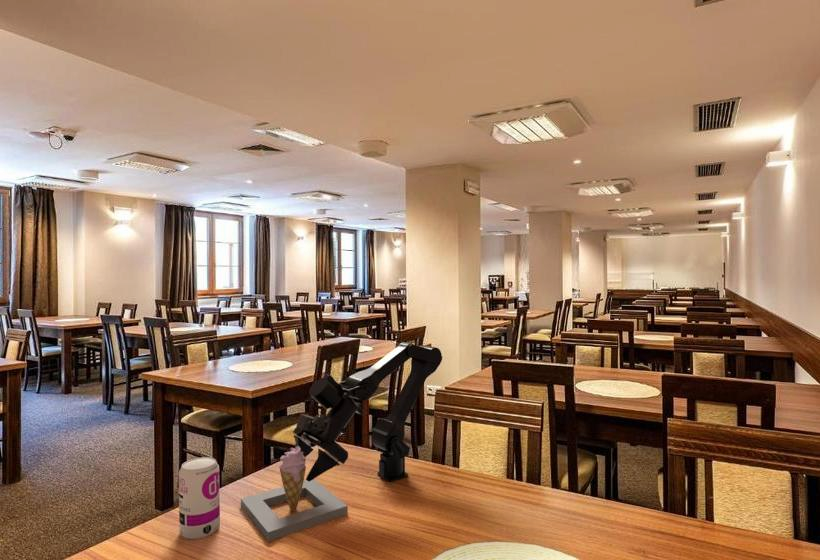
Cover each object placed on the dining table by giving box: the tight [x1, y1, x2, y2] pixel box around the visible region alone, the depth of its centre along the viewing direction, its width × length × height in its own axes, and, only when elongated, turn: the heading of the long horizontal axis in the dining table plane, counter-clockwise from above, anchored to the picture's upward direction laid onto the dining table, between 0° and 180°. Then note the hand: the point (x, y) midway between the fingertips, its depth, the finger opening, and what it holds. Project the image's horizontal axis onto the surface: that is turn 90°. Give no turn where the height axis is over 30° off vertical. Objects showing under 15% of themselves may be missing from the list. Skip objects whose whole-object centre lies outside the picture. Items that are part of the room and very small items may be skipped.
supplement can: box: [178, 456, 221, 540], centre depth 106 cm, size 8×8×15 cm
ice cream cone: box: [278, 446, 307, 512], centre depth 115 cm, size 7×6×15 cm
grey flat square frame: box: [240, 478, 349, 542], centre depth 115 cm, size 19×19×2 cm
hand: (298, 474), depth 116 cm, fingers open, 9 cm apart
